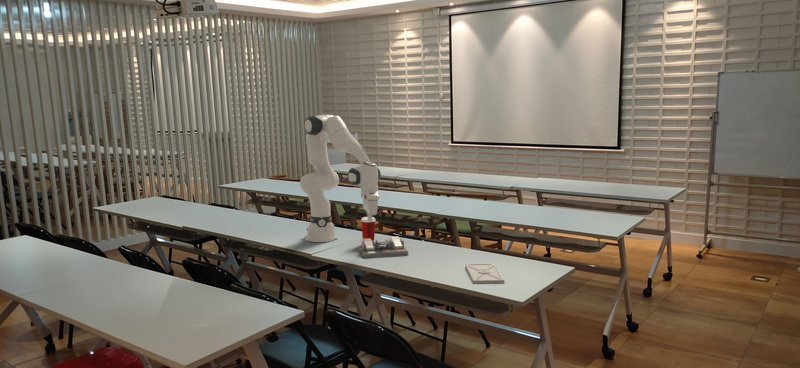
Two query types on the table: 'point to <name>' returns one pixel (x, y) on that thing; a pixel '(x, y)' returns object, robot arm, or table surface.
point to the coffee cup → (368, 228)
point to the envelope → (484, 273)
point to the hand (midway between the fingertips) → (369, 220)
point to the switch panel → (383, 250)
